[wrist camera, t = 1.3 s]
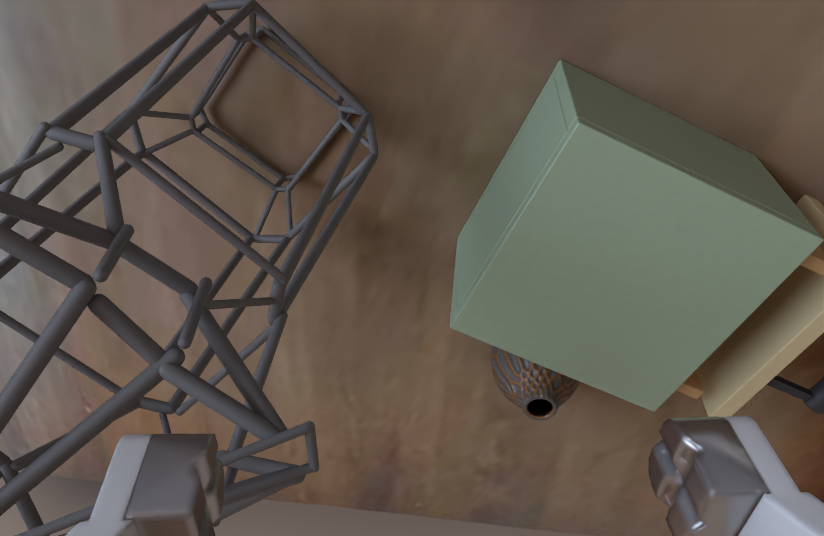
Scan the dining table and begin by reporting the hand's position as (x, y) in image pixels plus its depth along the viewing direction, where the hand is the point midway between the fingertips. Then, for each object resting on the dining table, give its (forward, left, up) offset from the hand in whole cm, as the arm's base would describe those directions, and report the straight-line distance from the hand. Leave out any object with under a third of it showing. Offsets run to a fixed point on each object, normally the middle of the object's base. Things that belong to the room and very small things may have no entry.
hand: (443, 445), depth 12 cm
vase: (+3, +25, -34) cm, 42 cm away
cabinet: (-4, +15, -34) cm, 37 cm away
